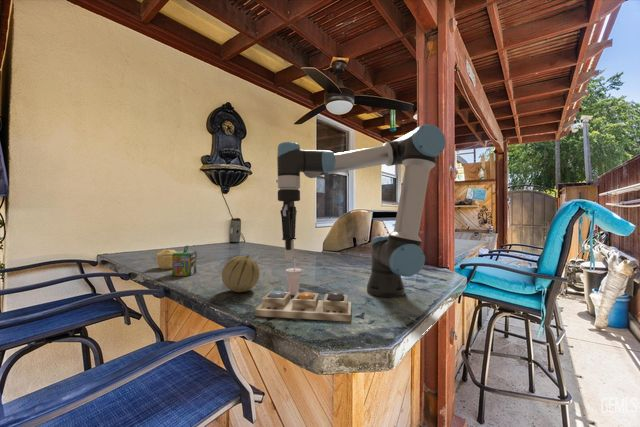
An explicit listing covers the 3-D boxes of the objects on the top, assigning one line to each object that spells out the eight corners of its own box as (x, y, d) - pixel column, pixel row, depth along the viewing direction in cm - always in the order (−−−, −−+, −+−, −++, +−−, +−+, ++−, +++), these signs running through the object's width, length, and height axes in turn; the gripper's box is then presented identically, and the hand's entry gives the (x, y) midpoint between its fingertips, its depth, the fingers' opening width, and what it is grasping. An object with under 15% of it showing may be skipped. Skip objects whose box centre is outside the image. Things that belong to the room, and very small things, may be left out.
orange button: (314, 299, 93) (314, 292, 93) (312, 304, 88) (312, 297, 88) (300, 299, 93) (300, 291, 93) (297, 303, 88) (297, 296, 88)
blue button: (286, 298, 94) (286, 291, 94) (282, 303, 89) (282, 295, 89) (272, 297, 94) (272, 290, 94) (267, 302, 90) (267, 294, 90)
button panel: (350, 307, 93) (351, 294, 93) (350, 321, 81) (350, 306, 81) (266, 303, 97) (267, 290, 97) (254, 315, 85) (254, 301, 85)
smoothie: (298, 296, 104) (299, 260, 104) (283, 295, 105) (283, 260, 105) (303, 292, 110) (303, 257, 110) (288, 291, 112) (288, 257, 112)
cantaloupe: (216, 290, 112) (217, 254, 112) (250, 284, 121) (250, 251, 121) (229, 299, 100) (229, 259, 100) (265, 292, 109) (265, 255, 109)
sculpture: (154, 271, 146) (154, 251, 146) (159, 266, 157) (159, 248, 157) (177, 269, 150) (177, 250, 150) (181, 265, 161) (181, 247, 161)
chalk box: (179, 272, 144) (179, 244, 143) (196, 272, 145) (197, 244, 144) (171, 276, 134) (171, 247, 134) (190, 276, 135) (190, 246, 135)
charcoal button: (343, 298, 91) (343, 291, 91) (342, 303, 86) (343, 296, 86) (328, 298, 92) (328, 290, 92) (327, 303, 87) (327, 295, 87)
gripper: (283, 191, 98) (283, 255, 98) (272, 188, 85) (272, 262, 85) (303, 190, 97) (303, 256, 97) (295, 187, 84) (296, 263, 84)
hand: (289, 259), depth 91 cm, fingers closed
